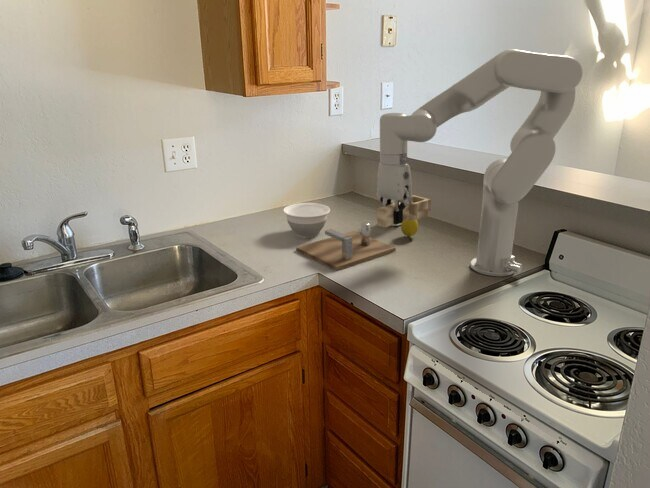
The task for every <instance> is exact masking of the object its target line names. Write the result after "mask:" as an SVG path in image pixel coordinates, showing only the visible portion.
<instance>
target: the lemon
mask: <svg viewBox="0 0 650 488" xmlns="http://www.w3.org/2000/svg"><path fill="white" fill-rule="evenodd" d="M400 228H401V230H400V231H401V232H402V234H403V235H405V236H406V237H408V238H411V237H412V236H414V235H416V234H417V231H418V229H419V222H418V220H415V221H413V220H410V219H409V220H406V221H403V222H402V224H401V225H400Z"/></svg>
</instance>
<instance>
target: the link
mask: <svg viewBox="0 0 650 488" xmlns="http://www.w3.org/2000/svg"><path fill="white" fill-rule="evenodd" d="M404 201H405V199H404ZM411 201H412V204H410V205H407V206H406V207H405V209H404V210H403V221H406V220H409V219H410V220H413V221H415V220H417V221H418V220H421V219H424V218H427V217H430V216H431V210H432V208H431V207H432V206H431V205H432V199H431V198H427V197H424V196H419V195H415V194H412V198H411ZM399 205H400V202H399ZM376 210H377V211H376V212H377V213H376V217H377V218H376V219H377V220H376V225H377V226H379V227H383V228H388V227H390V226H391V225H394V211H395V203H393V204H390V205H387V206H380V207H377V209H376Z"/></svg>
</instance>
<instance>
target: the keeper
mask: <svg viewBox="0 0 650 488" xmlns="http://www.w3.org/2000/svg"><path fill="white" fill-rule="evenodd" d="M324 234H325V235H326V236H328V237H329V238H330V237H333V238H335V239H337V240H340V241H342V259H344V260H349V259H352V242H353V238H352V237H350V236H347V235H345V234H344V233H342V232H340V231H337V230H335V229H332V228H329V229H325V230H324Z"/></svg>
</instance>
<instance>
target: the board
mask: <svg viewBox="0 0 650 488" xmlns="http://www.w3.org/2000/svg"><path fill="white" fill-rule="evenodd" d="M343 234H345V235H347V236H350V237H352V238H353V242H352V259H349V260H344V259H342V241H340V240H337V239H335V238H333V237H330V236H329V237H328V238H324V239H320V240H317V241H313V242H310V243H306V244H303V245H299V246H296V247H295V251H296V252H298V253H300V254H302V255H303V256H306V257H308V258H310V259H312V260H314V261H316V262H319V263H320V264H322V265H324V266H326V267H329V268H330V269H332V270H334V271H336V272H337V271H340V270H343V269H347V268H349V267H353V266H356V265H358V264H361V263H365V262H367V261H368V262H369V261H370V260H373V259H376V258H379V257H382V256H385V255H389V254H392V253H395V252H396V249H397V248H396V247H394V246H392V245H390V244H387V243H385V242H383V241H380V240H377V239H374V238H372V237H370V245H369V246H362V245H361V232H356V231H354V230H351V231H348V232H345V233H343Z"/></svg>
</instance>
